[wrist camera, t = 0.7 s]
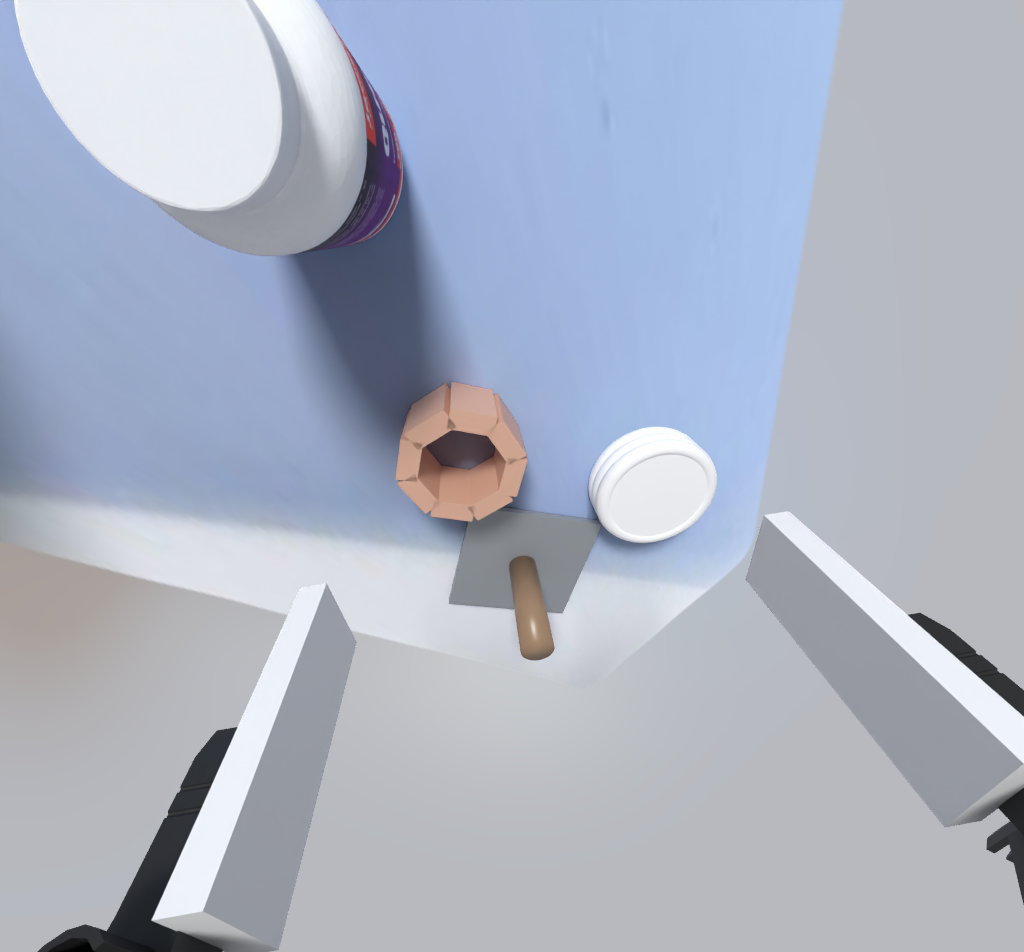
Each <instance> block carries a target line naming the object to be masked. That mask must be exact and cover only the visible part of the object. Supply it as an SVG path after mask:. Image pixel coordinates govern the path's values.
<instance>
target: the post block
mask: <svg viewBox="0 0 1024 952" xmlns="http://www.w3.org/2000/svg"><path fill="white" fill-rule="evenodd" d="M601 526H602V523H601V522H600V520H593V519H585V518H578V517H571V516H564V515H557V514H549V513H542V512H535V511H528V510H521V509H513V508H506V507H502V508H500V509H498V510H496V511H494V512H493V513H491V514H489V515H487V516H485V517H484V518H482V519H480V520H477V519H476V518H475V517H474V516H473V520H472V522H470V521H468V523H467V527H466V531H465V535H464V539H463V543H462V548H461V552H460V556H459V560H458V564H457V568H456V573H455V577H454V581H453V585H452V589H451V593H450V597H449V604H460V605H472V606H484V607H496V608H508V609H515V615H516V622H517V629H518V636H519V643H520V650H521V655H522V656H523V657H524V658H526V659H529V660H541V659H544V658H546V657H548V656H550V655H551V654H552V653H553V651H554V643H553V639H552V634H551V630H550V625H549V621H548V616H547V612H557V613H563V610H564V608H565V606H566V604H567V601H568V599H569V597H570V595H571V593H572V590H573V588H574V586H575V584H576V582H577V579H578V577H579V575H580V573H581V570H582V568H583V566H584V564H585V562H586V559H587V557H588V555H589V553H590V551H591V548H592V546H593V544H594V542H595V539H596V537H597V535H598V533H599V531H600V528H601Z"/></svg>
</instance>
